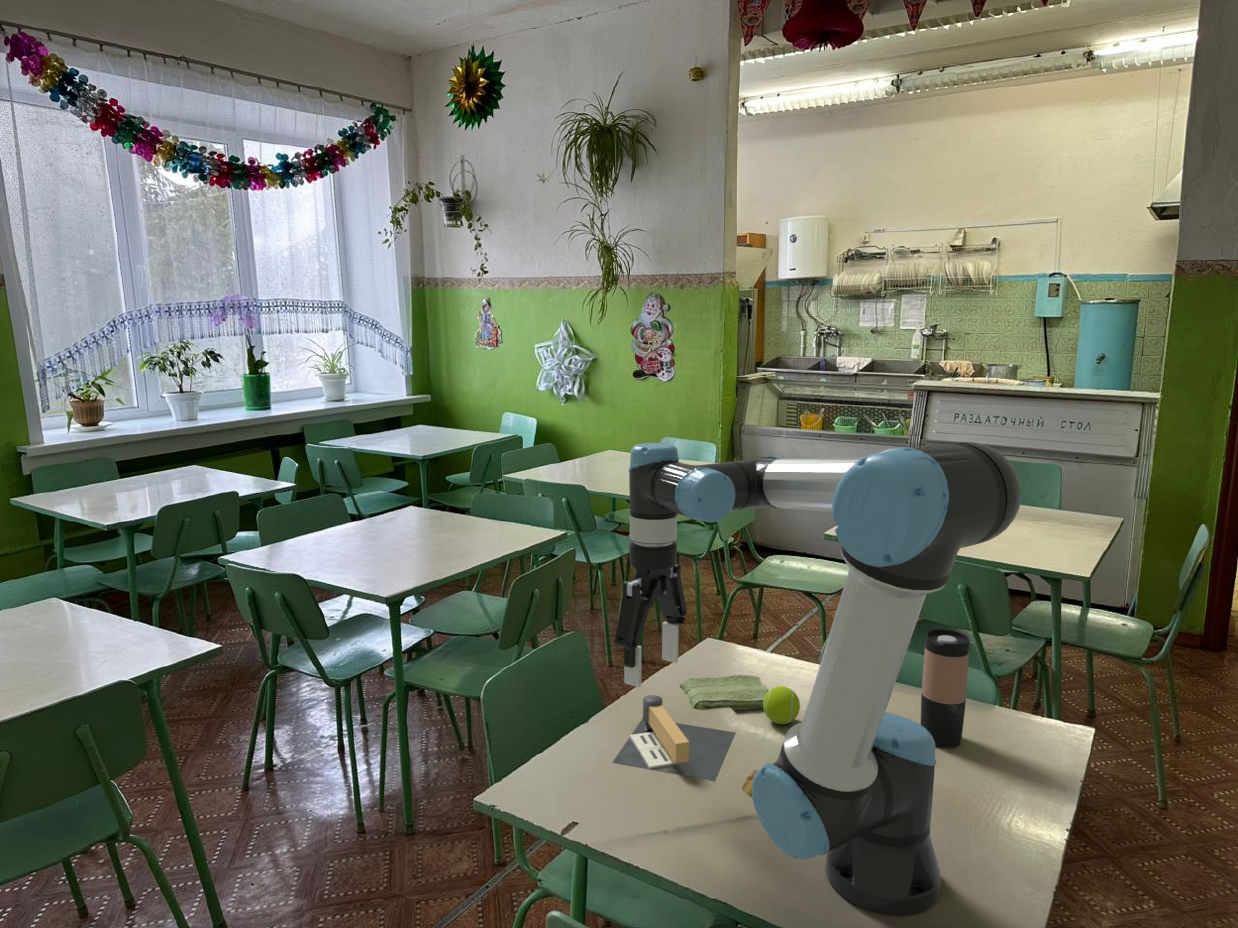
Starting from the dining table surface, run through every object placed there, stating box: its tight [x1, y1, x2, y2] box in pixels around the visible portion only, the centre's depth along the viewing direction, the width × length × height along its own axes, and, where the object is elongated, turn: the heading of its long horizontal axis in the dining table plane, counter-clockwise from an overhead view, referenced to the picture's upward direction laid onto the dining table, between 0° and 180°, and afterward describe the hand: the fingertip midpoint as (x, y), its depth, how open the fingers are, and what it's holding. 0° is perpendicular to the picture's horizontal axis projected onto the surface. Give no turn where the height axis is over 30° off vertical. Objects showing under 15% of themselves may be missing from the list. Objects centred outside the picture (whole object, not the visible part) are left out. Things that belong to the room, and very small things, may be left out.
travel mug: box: [920, 628, 971, 749], centre depth 153 cm, size 8×8×20 cm
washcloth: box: [679, 674, 769, 712], centre depth 172 cm, size 13×18×3 cm
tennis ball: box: [762, 685, 801, 725], centre depth 161 cm, size 7×7×7 cm
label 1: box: [629, 732, 663, 753], centre depth 151 cm, size 6×5×1 cm
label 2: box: [640, 746, 677, 770], centre depth 146 cm, size 6×5×1 cm
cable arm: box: [642, 694, 689, 763], centre depth 149 cm, size 18×4×4 cm, turn 16°
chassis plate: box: [612, 717, 736, 782], centre depth 150 cm, size 18×18×3 cm
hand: (652, 672), depth 136 cm, fingers open, 11 cm apart
